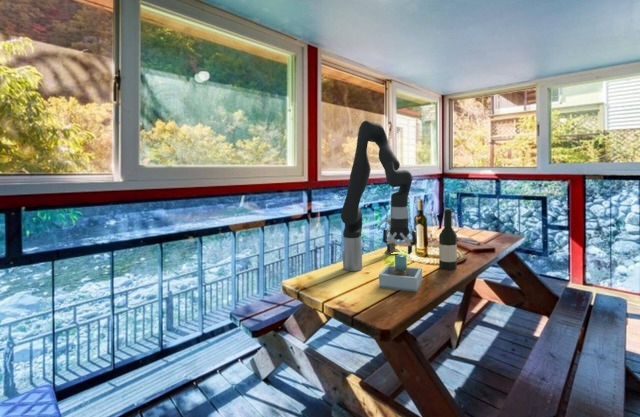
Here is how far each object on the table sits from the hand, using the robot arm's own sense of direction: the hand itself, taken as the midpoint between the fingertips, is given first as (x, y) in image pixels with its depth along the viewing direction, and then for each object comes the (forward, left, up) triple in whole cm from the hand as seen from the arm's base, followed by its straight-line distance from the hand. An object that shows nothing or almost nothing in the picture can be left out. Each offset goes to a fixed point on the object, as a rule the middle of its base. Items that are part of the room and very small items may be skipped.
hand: (399, 252), depth 149 cm
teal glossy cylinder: (0, +1, -8) cm, 7 cm away
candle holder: (-16, +51, -15) cm, 55 cm away
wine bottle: (+17, +31, -15) cm, 38 cm away
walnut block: (0, +1, -14) cm, 14 cm away
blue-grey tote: (0, +1, -15) cm, 15 cm away
